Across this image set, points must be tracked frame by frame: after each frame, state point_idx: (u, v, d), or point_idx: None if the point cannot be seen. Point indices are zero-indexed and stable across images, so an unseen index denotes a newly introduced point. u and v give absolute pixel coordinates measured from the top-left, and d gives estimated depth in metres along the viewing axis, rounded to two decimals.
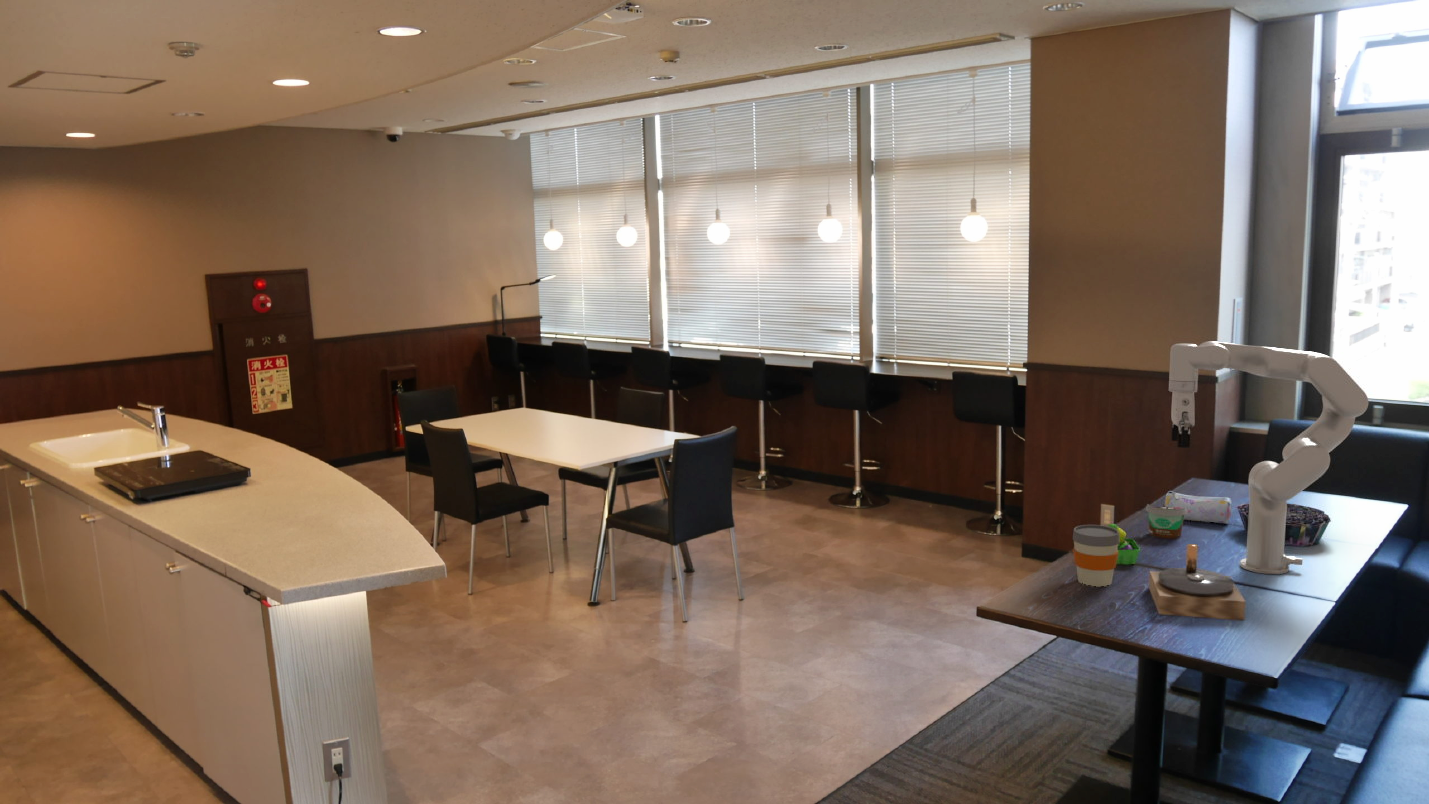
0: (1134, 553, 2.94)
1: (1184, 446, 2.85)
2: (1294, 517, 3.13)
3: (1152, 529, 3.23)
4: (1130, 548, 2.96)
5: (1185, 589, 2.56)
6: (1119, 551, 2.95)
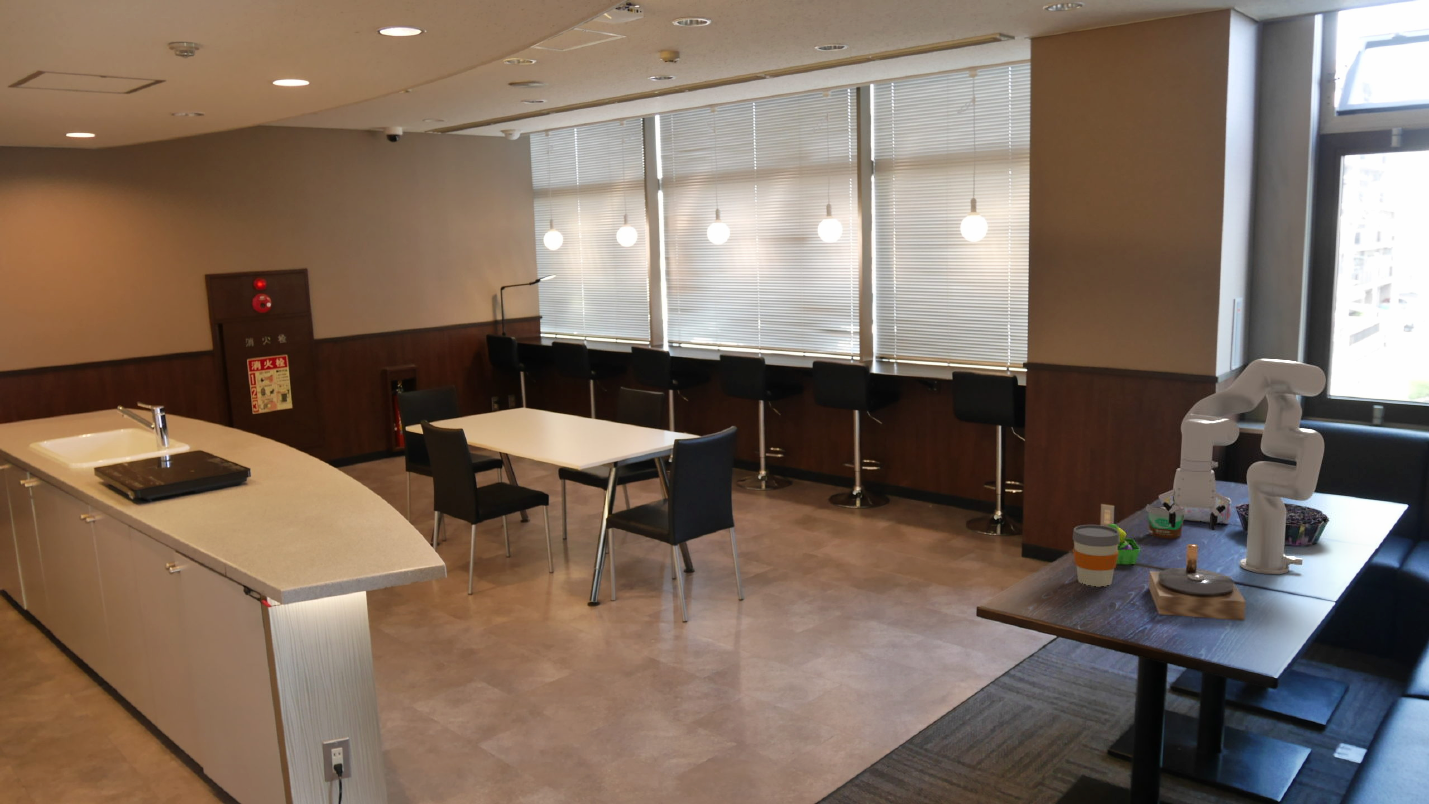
0: (1134, 553, 2.94)
1: None
2: (1293, 517, 3.13)
3: (1152, 529, 3.23)
4: (1130, 548, 2.96)
5: (1185, 589, 2.56)
6: (1119, 551, 2.95)
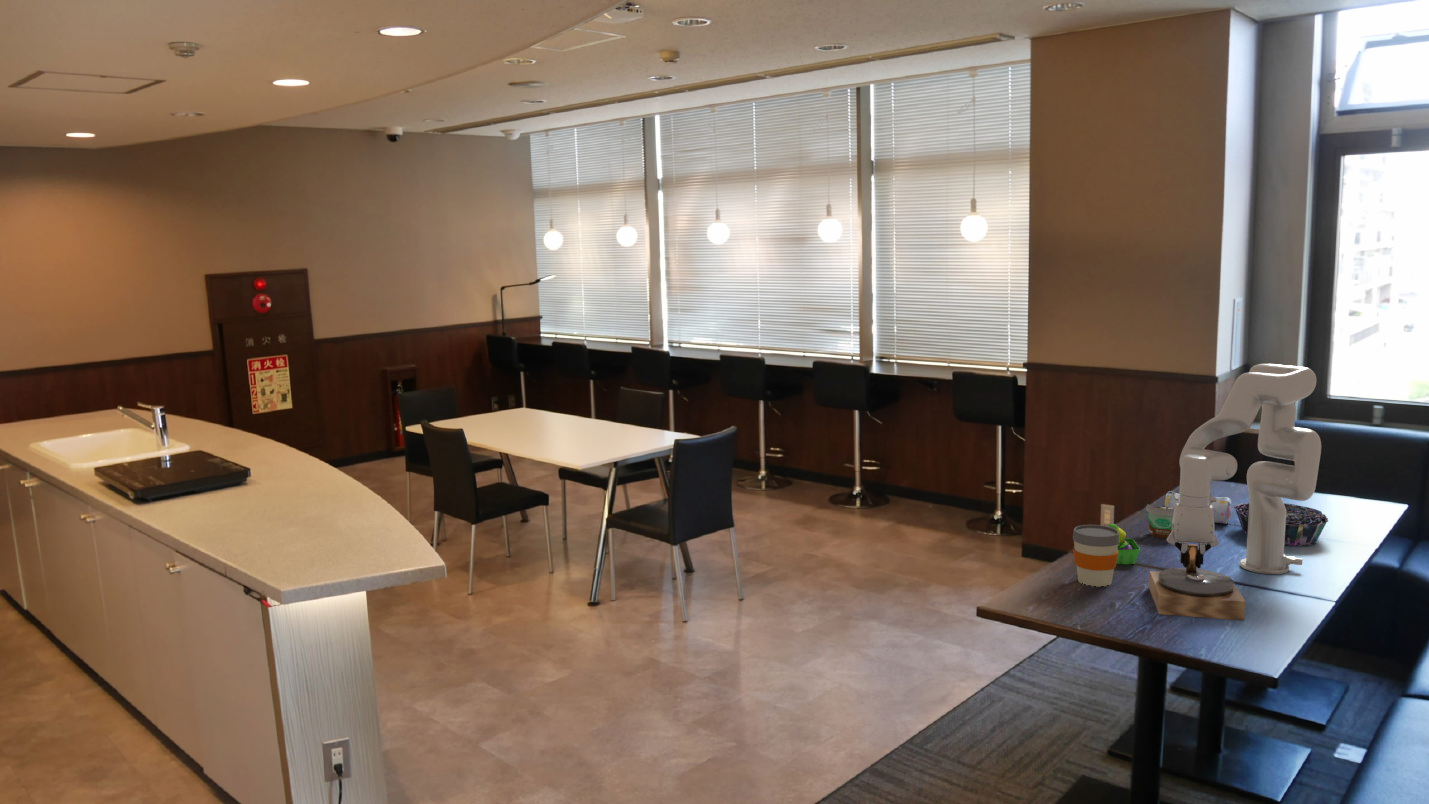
0: (1134, 553, 2.94)
1: None
2: (1291, 517, 3.13)
3: (1152, 529, 3.23)
4: (1130, 548, 2.96)
5: (1185, 589, 2.56)
6: (1119, 551, 2.95)
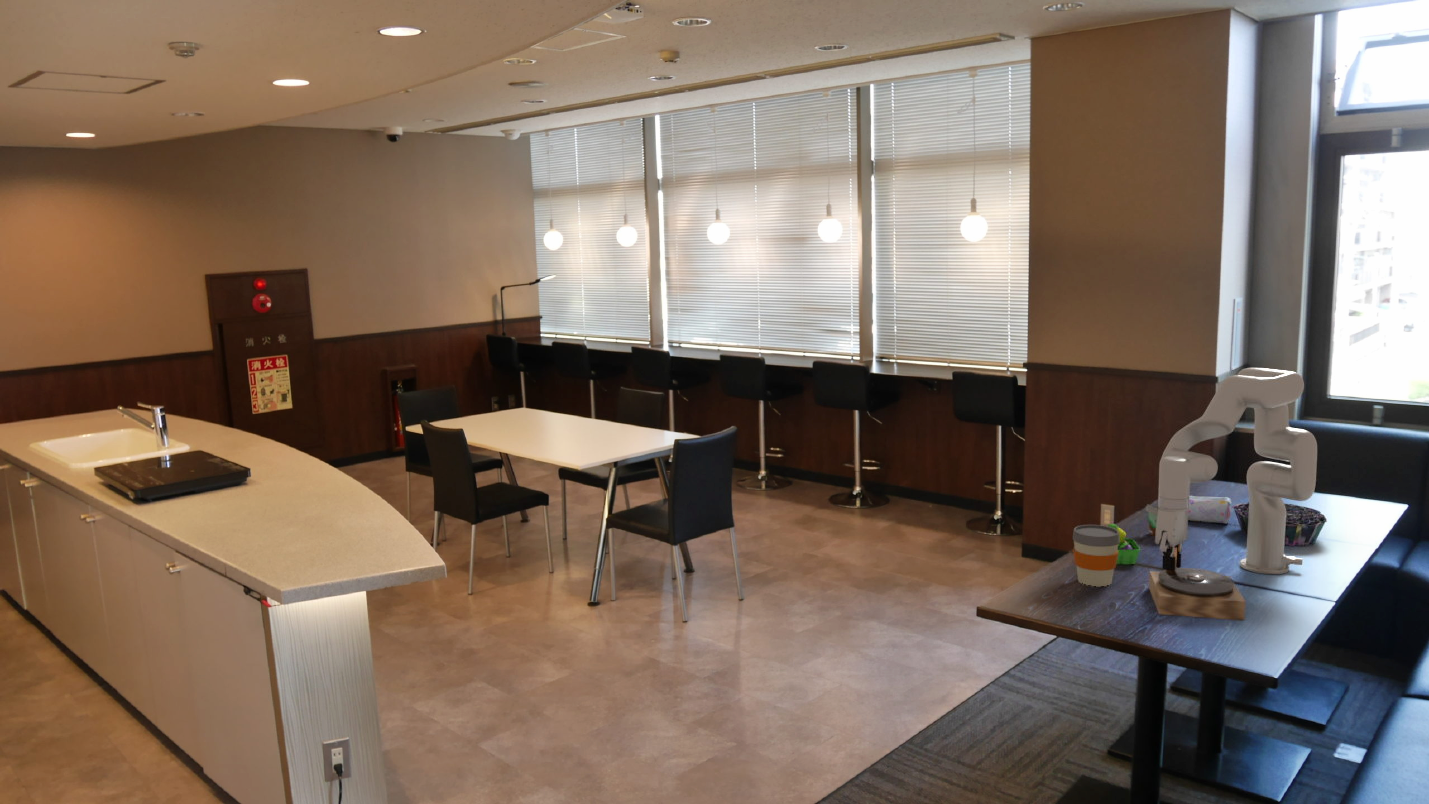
0: (1134, 553, 2.94)
1: None
2: (1290, 517, 3.13)
3: (1152, 529, 3.23)
4: (1130, 548, 2.96)
5: (1218, 591, 2.54)
6: (1119, 551, 2.95)
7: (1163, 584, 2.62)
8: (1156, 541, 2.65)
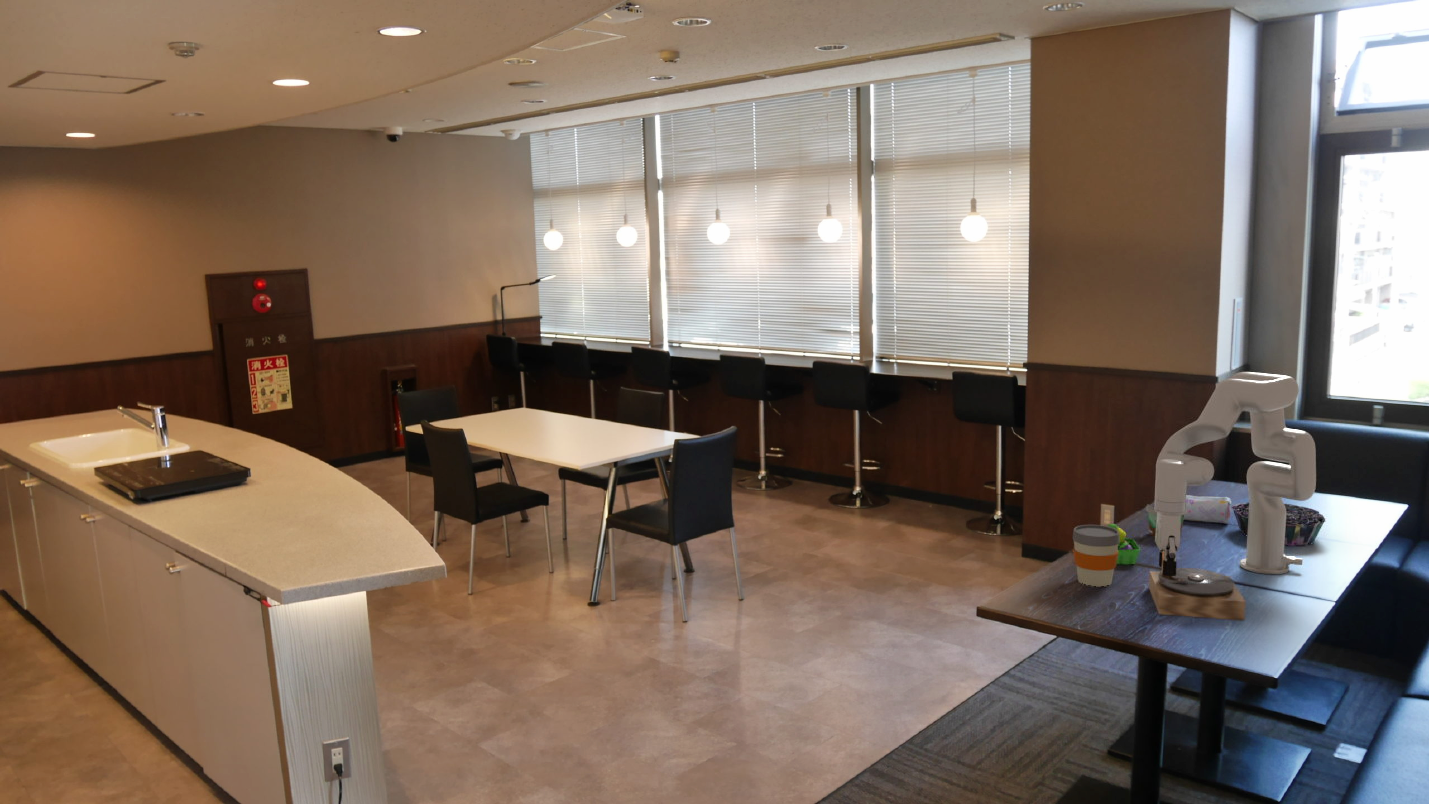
0: (1134, 553, 2.94)
1: None
2: (1289, 517, 3.13)
3: (1152, 529, 3.23)
4: (1130, 548, 2.96)
5: (1232, 587, 2.56)
6: (1119, 551, 2.95)
7: (1180, 590, 2.57)
8: (1162, 547, 2.59)
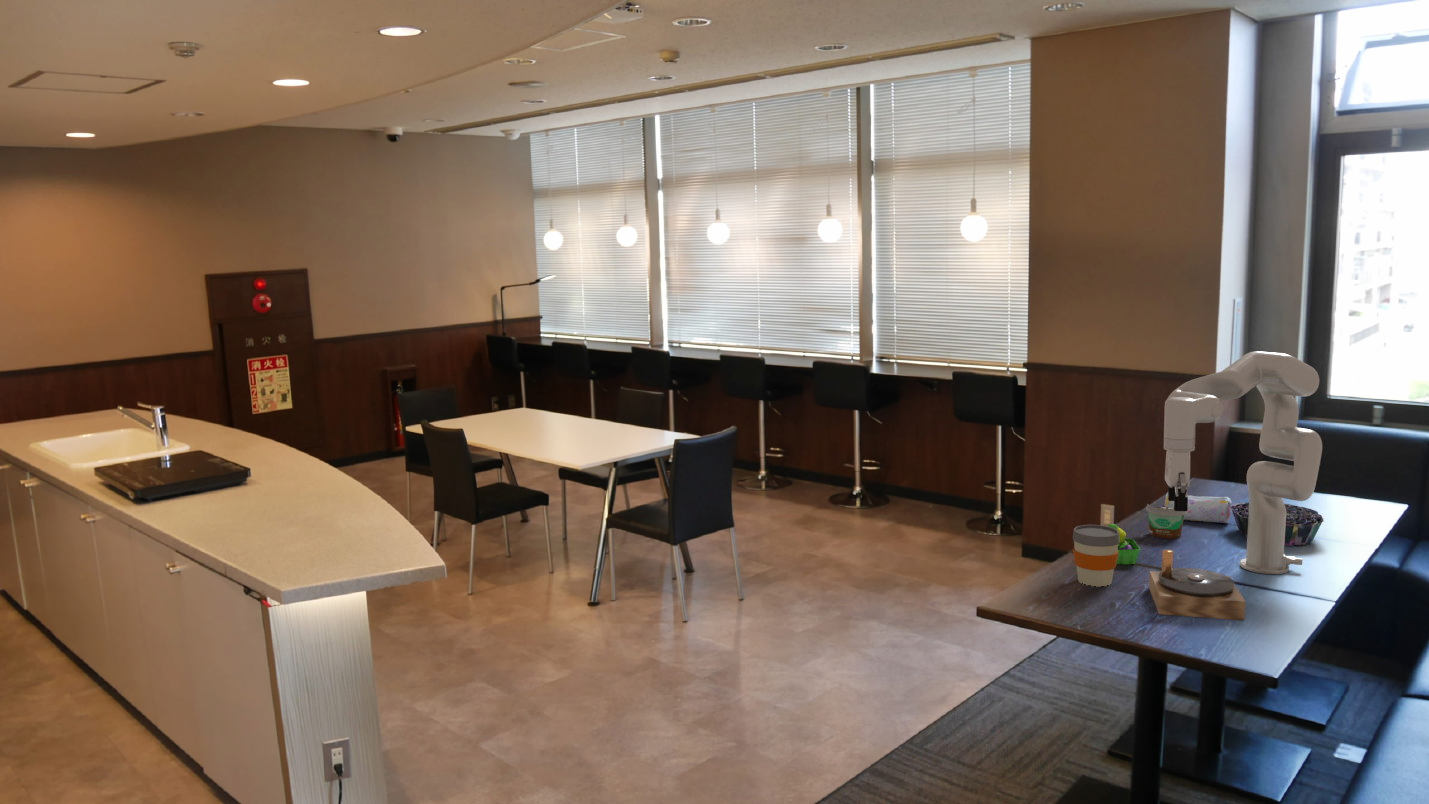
0: (1134, 553, 2.94)
1: None
2: (1287, 517, 3.13)
3: (1152, 529, 3.23)
4: (1130, 548, 2.96)
5: (1232, 587, 2.56)
6: (1119, 551, 2.95)
7: (1180, 590, 2.57)
8: (1172, 484, 2.61)
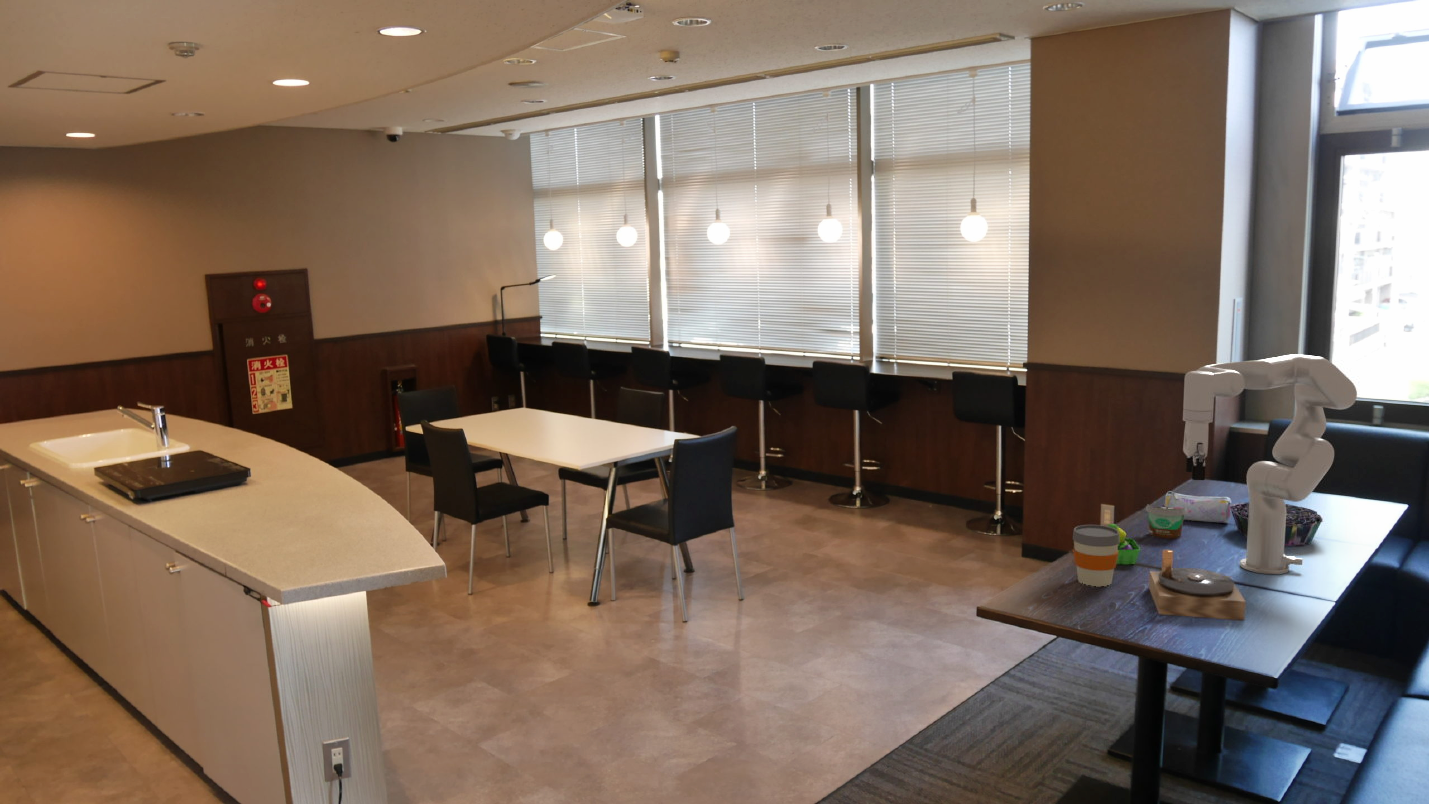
0: (1134, 553, 2.94)
1: None
2: (1286, 517, 3.13)
3: (1152, 529, 3.23)
4: (1130, 548, 2.96)
5: (1232, 587, 2.56)
6: (1119, 551, 2.95)
7: (1180, 590, 2.57)
8: (1191, 454, 2.72)
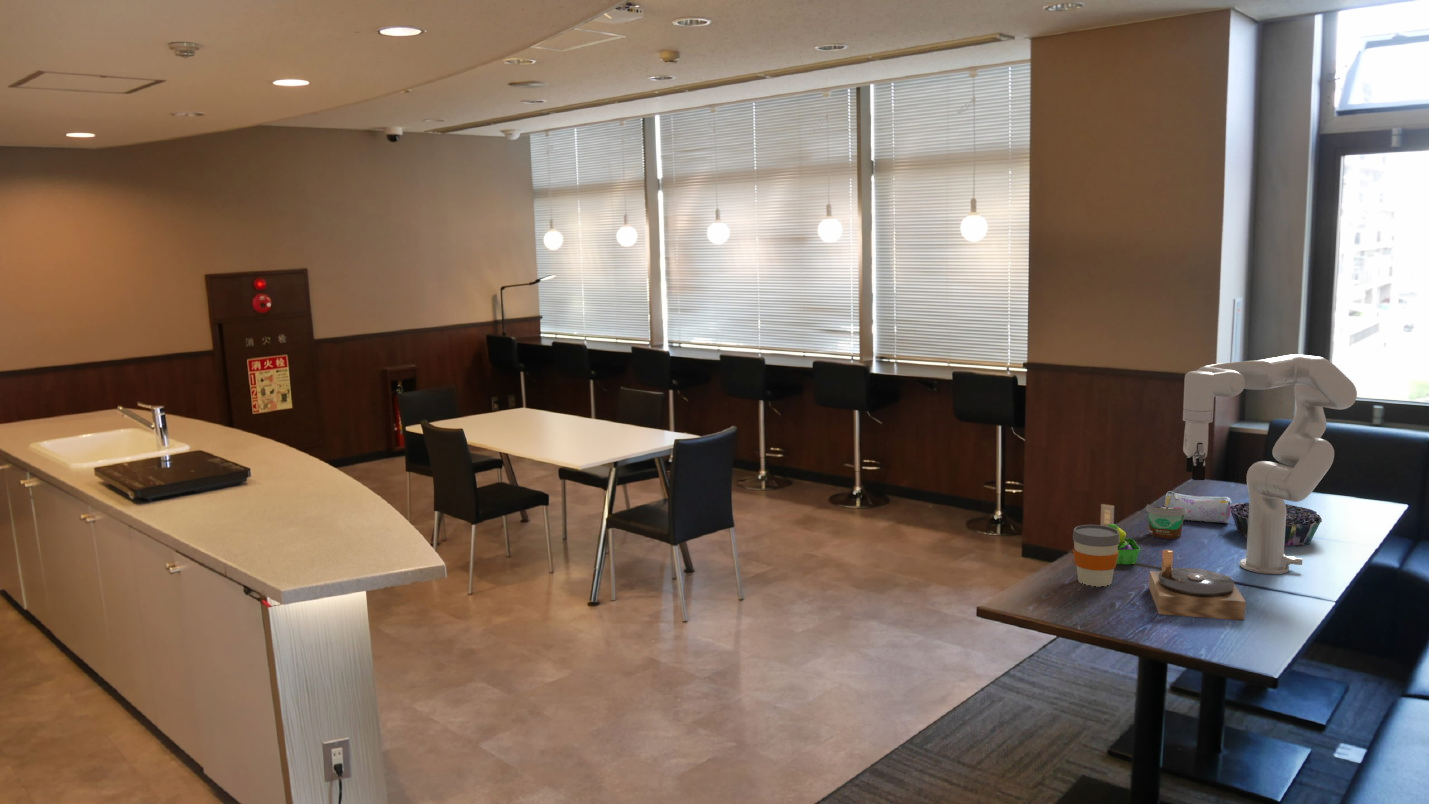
0: (1134, 553, 2.94)
1: None
2: None
3: (1152, 529, 3.23)
4: (1130, 548, 2.96)
5: (1232, 587, 2.56)
6: (1119, 551, 2.95)
7: (1180, 590, 2.57)
8: (1190, 454, 2.72)
